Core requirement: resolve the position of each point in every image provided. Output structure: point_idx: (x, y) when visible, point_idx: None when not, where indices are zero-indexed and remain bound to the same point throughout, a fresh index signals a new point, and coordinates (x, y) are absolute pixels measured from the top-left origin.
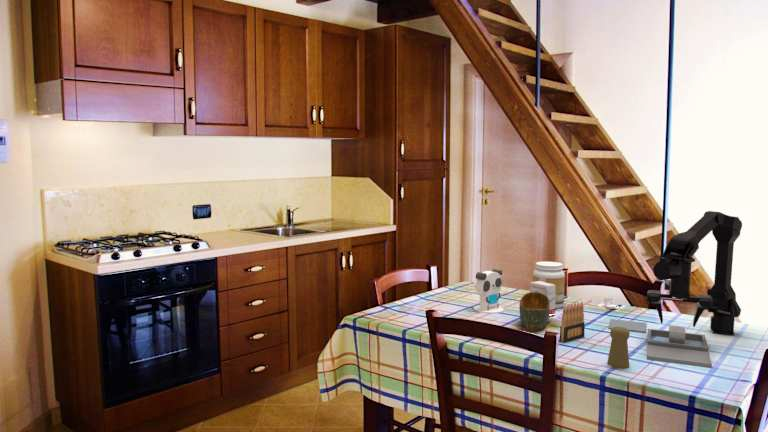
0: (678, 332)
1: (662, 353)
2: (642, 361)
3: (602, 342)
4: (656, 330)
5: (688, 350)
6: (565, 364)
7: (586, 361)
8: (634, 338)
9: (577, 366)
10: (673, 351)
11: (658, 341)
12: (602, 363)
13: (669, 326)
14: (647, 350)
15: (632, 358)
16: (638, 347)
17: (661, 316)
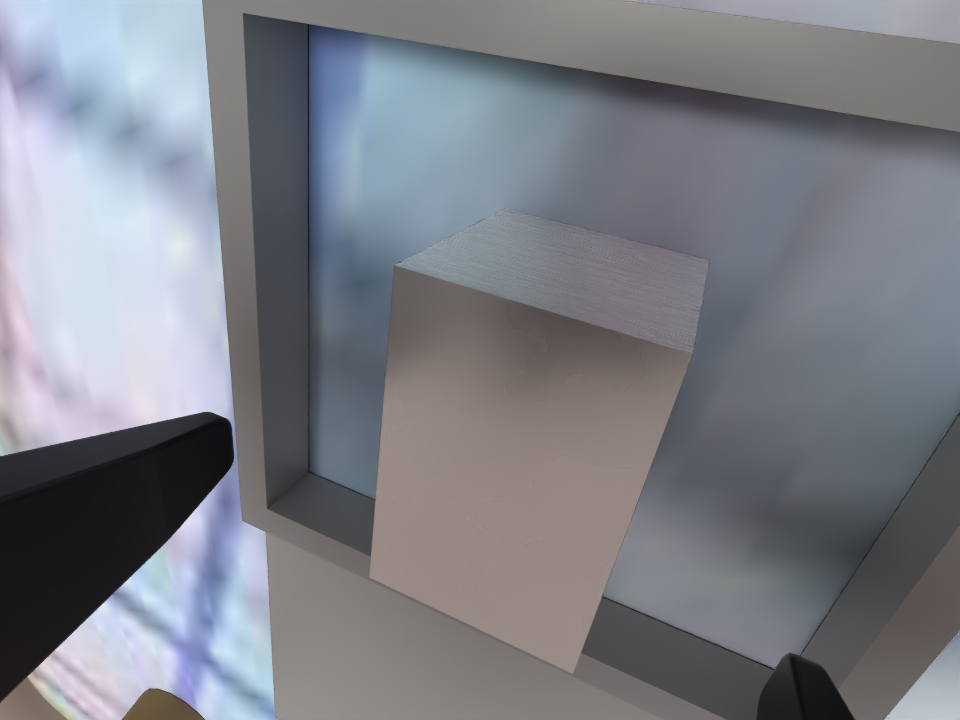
0: (479, 627)
1: (362, 704)
2: (271, 716)
3: (25, 382)
4: (314, 23)
5: (588, 691)
6: (34, 678)
7: (74, 665)
8: (171, 219)
9: (70, 703)
10: (446, 686)
11: (325, 541)
12: (128, 697)
13: (391, 336)
14: (272, 636)
15: (223, 669)
16: (230, 487)
17: (88, 601)
